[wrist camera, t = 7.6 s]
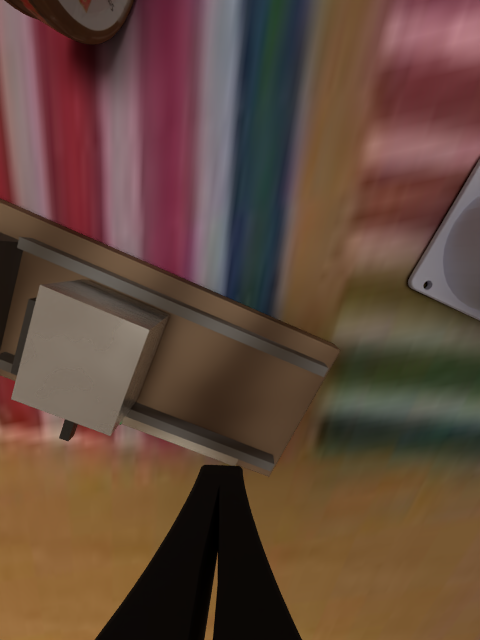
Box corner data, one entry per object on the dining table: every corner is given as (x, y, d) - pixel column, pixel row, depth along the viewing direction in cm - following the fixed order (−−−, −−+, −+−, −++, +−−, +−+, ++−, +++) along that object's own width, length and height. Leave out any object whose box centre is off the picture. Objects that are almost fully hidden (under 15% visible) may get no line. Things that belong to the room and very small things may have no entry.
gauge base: (333, 343, 16) (383, 390, 11) (266, 464, 19) (277, 558, 13) (-8, 195, 15) (-176, 152, 9) (-37, 349, 17) (-187, 397, 11)
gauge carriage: (169, 314, 14) (149, 329, 11) (125, 429, 16) (98, 469, 13) (74, 274, 14) (26, 279, 11) (39, 397, 16) (-10, 430, 13)
